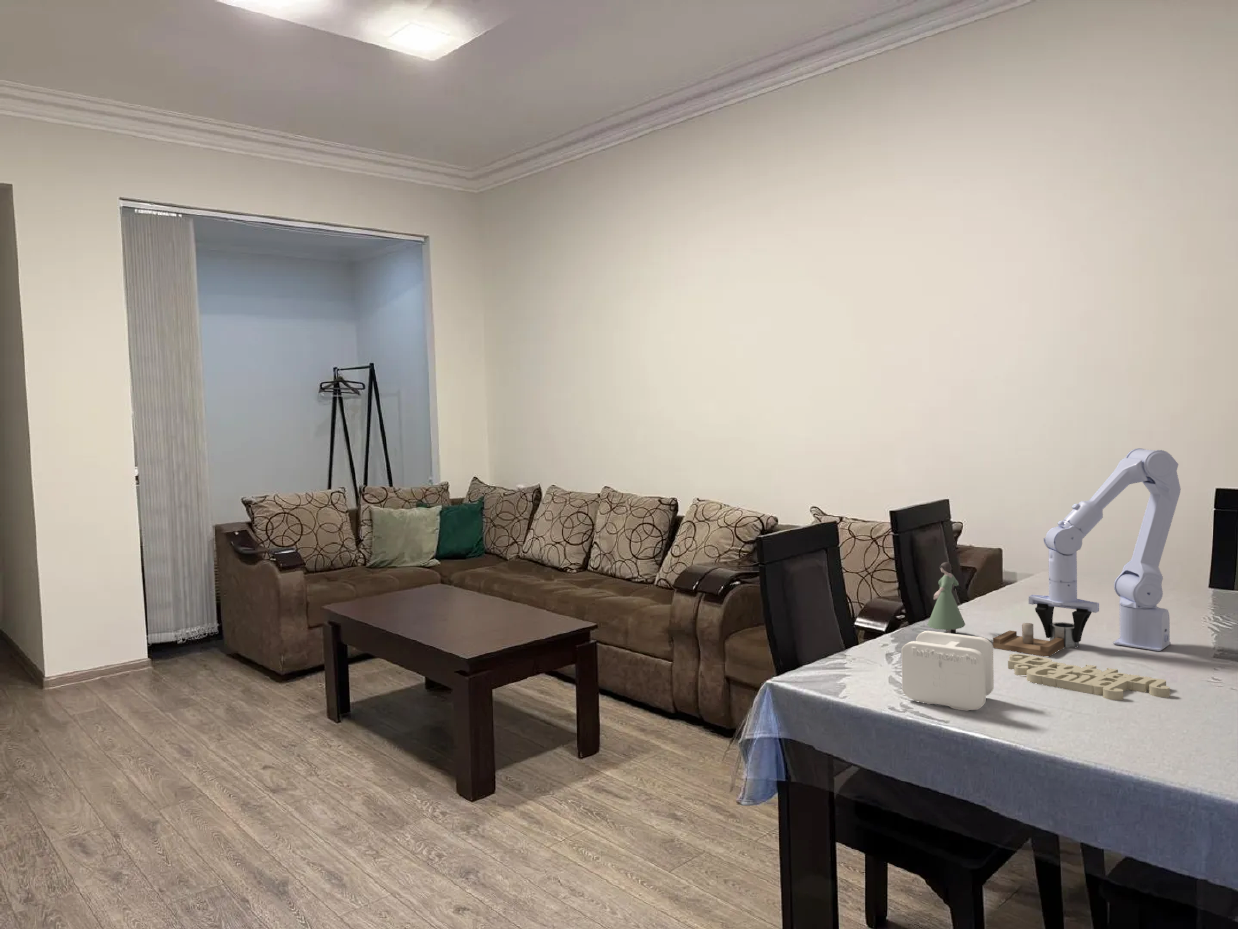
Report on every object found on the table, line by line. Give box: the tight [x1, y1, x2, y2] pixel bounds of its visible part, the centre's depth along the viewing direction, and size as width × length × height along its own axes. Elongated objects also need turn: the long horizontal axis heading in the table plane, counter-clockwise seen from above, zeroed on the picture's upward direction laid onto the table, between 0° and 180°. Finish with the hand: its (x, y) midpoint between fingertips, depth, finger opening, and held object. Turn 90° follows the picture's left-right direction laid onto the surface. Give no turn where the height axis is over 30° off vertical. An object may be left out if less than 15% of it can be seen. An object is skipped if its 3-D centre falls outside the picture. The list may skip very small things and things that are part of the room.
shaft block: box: [992, 622, 1065, 657], centre depth 197 cm, size 12×9×6 cm
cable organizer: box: [900, 630, 995, 712], centre depth 164 cm, size 15×11×12 cm
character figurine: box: [927, 561, 966, 634], centre depth 210 cm, size 16×8×18 cm, turn 136°
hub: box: [1049, 621, 1080, 649], centre depth 198 cm, size 6×6×4 cm
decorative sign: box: [1007, 653, 1171, 701], centre depth 172 cm, size 31×2×15 cm
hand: (1063, 639), depth 198 cm, fingers closed on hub, 5 cm apart
